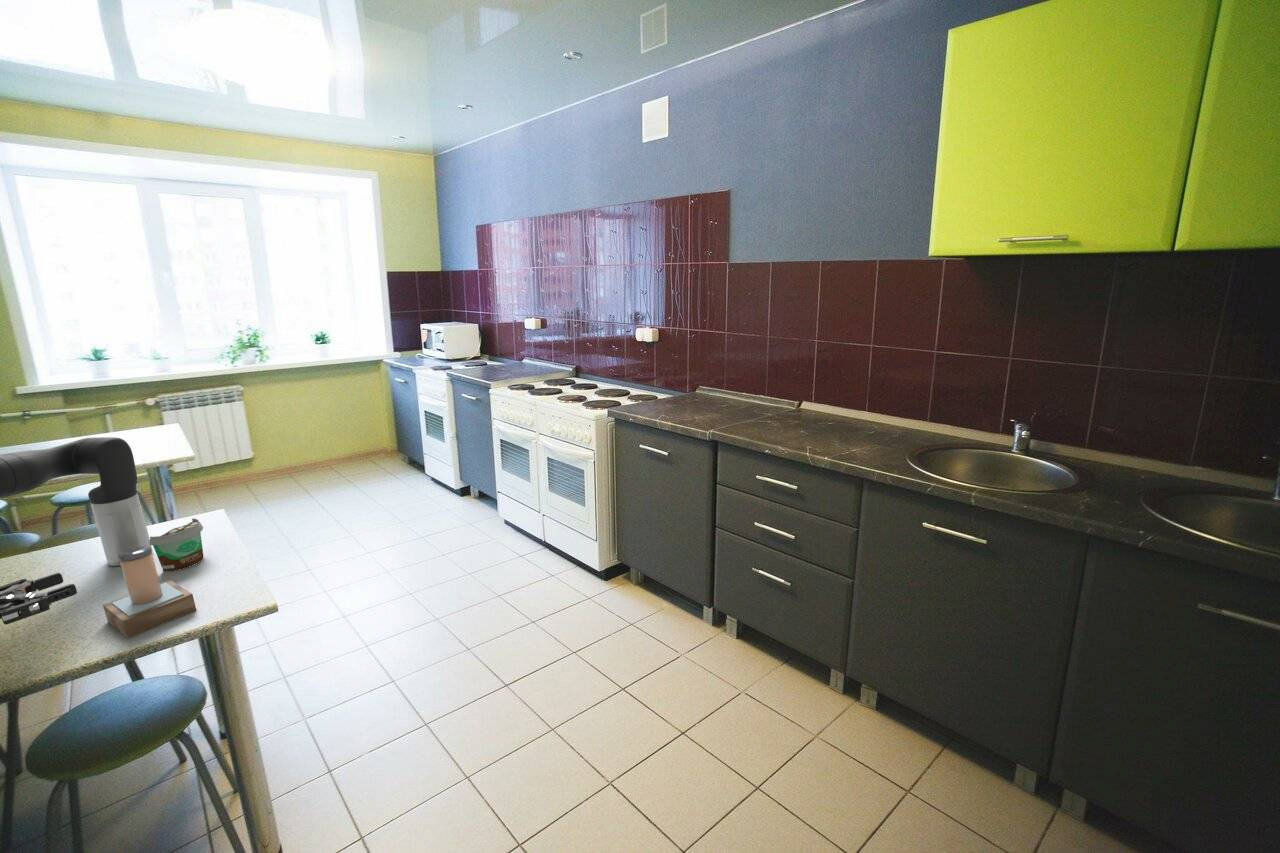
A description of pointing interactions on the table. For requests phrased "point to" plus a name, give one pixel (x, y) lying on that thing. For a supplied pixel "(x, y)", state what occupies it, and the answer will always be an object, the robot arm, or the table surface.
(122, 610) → the walnut riser
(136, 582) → the terracotta canister
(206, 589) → the table surface
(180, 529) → the food container
